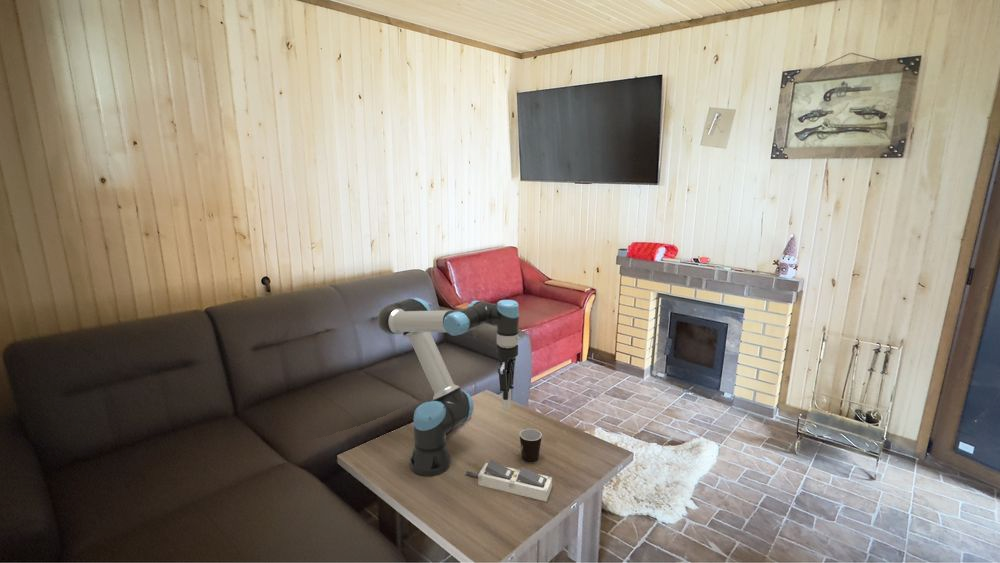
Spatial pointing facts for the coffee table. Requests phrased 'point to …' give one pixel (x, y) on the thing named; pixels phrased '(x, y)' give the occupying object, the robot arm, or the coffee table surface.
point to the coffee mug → (530, 444)
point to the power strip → (513, 484)
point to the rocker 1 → (498, 470)
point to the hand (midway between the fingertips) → (506, 406)
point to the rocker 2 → (531, 478)
